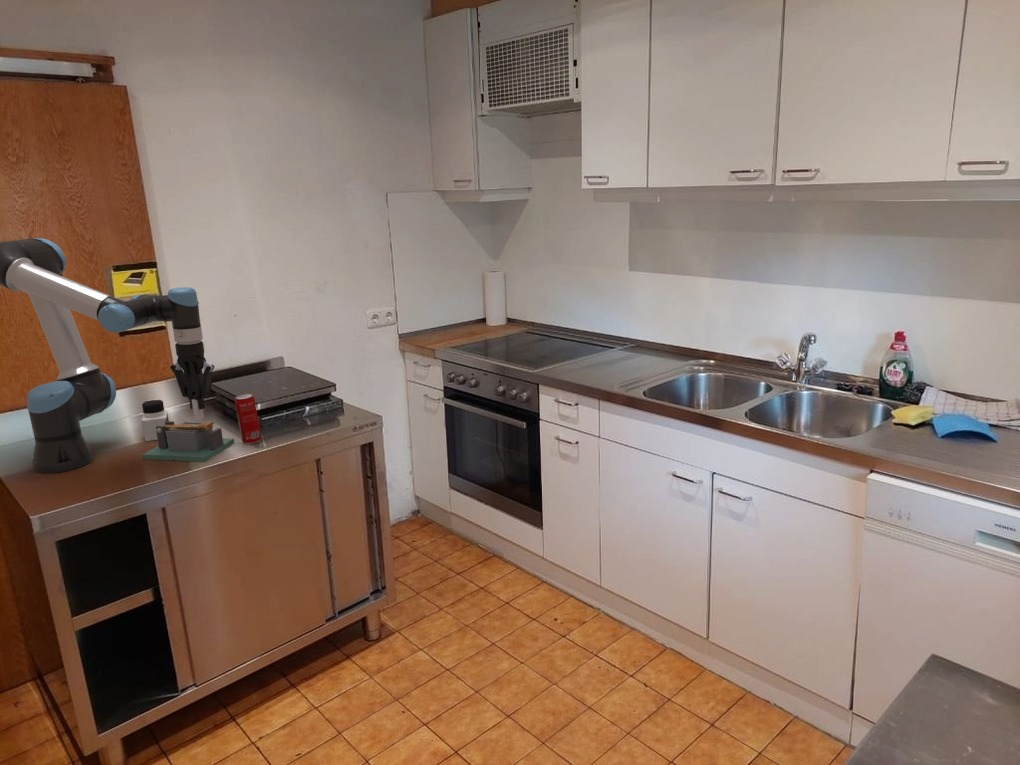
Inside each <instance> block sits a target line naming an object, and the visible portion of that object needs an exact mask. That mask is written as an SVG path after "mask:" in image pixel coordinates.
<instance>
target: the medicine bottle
mask: <svg viewBox="0 0 1020 765" xmlns="http://www.w3.org/2000/svg"><path fill="white" fill-rule="evenodd" d="M141 407H142V412H143V415H142V418H141V426H142V433H143V439H144V441H145V442H152V441H158V438H157V432H156V426H164V425H165V422H166V421H170V419H169V415H168V411H165V406H164V401H163V400H161V399H158V398H157V399H156V398H155V399H148V400H146V401H144V402H143V403H142V404H141ZM166 435H167V432H166Z"/></svg>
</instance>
